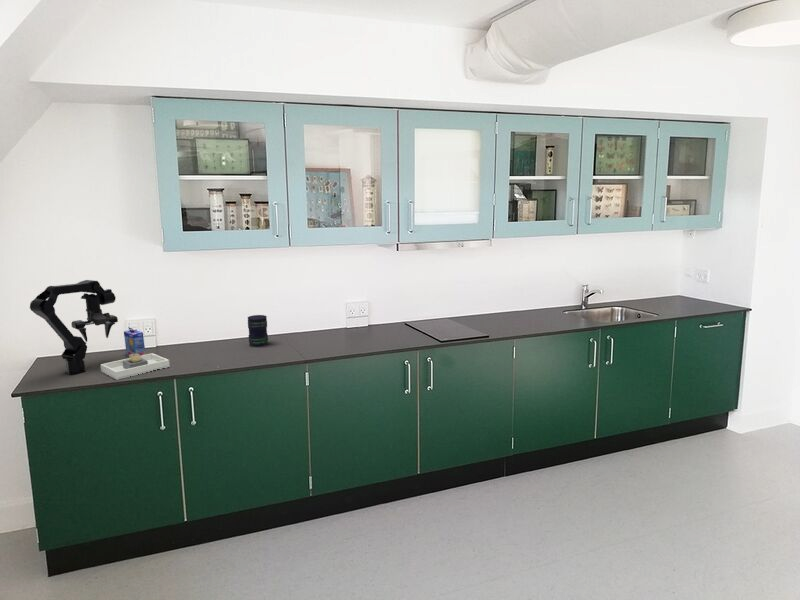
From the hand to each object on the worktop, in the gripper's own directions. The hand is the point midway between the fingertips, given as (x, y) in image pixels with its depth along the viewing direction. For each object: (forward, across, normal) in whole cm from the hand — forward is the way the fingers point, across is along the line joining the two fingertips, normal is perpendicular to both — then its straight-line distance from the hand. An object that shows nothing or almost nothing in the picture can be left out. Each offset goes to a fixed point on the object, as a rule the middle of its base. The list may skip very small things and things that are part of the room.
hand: (96, 339), depth 282 cm
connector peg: (+11, +8, -21) cm, 25 cm away
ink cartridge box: (+12, +18, +2) cm, 22 cm away
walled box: (+12, +8, -21) cm, 25 cm away
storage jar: (+12, +70, -27) cm, 76 cm away
